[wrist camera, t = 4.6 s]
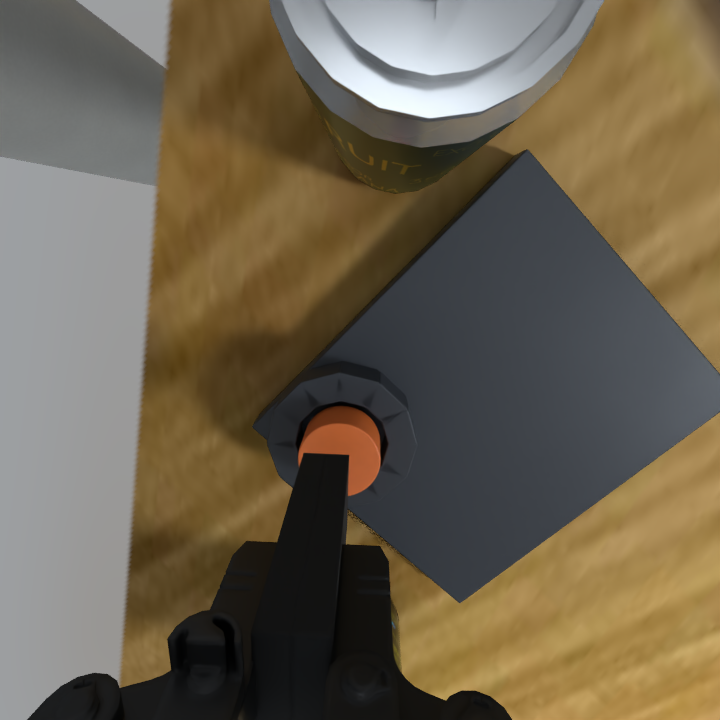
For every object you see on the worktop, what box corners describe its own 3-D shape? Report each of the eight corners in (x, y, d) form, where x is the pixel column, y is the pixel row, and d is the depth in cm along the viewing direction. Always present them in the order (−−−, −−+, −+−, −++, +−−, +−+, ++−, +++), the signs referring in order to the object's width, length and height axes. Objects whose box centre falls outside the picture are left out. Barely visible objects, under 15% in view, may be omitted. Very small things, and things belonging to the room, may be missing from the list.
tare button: (289, 439, 19) (280, 461, 17) (340, 390, 18) (336, 407, 16) (343, 486, 19) (340, 511, 17) (396, 440, 18) (397, 461, 17)
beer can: (390, 8, 16) (426, -535, 5) (496, 109, 17) (750, -141, 5) (304, 135, 17) (167, -45, 6) (407, 222, 18) (459, 212, 7)
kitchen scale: (257, 414, 21) (238, 444, 18) (515, 153, 17) (542, 138, 15) (454, 583, 24) (465, 632, 21) (716, 386, 20) (773, 412, 17)
